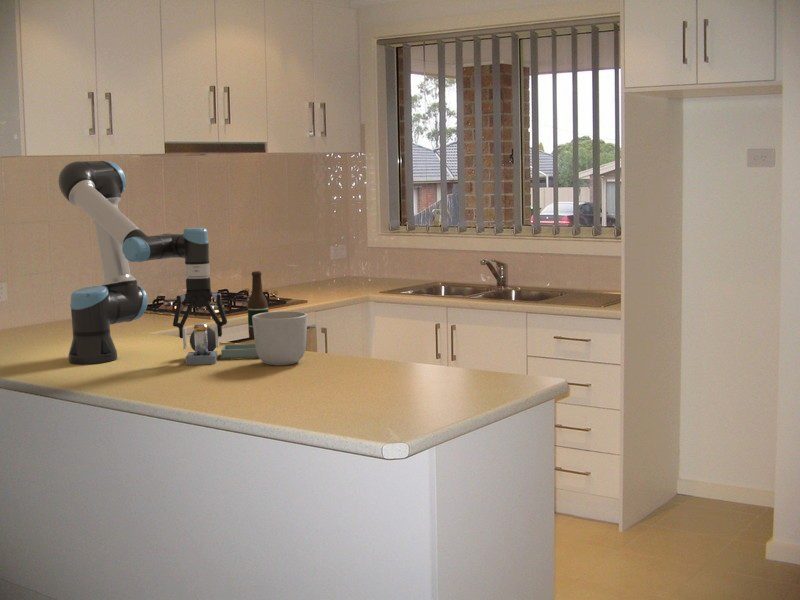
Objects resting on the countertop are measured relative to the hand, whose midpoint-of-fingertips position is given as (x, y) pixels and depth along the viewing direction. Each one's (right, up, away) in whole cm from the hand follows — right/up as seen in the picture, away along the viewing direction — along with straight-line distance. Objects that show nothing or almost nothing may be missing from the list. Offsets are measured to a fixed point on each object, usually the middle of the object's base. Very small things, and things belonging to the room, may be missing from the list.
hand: (201, 347), depth 320 cm
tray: (+12, -3, +10) cm, 16 cm away
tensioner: (0, -4, +4) cm, 6 cm away
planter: (+26, -5, -5) cm, 27 cm away
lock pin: (0, -5, +1) cm, 5 cm away
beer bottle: (+12, +1, +45) cm, 46 cm away
